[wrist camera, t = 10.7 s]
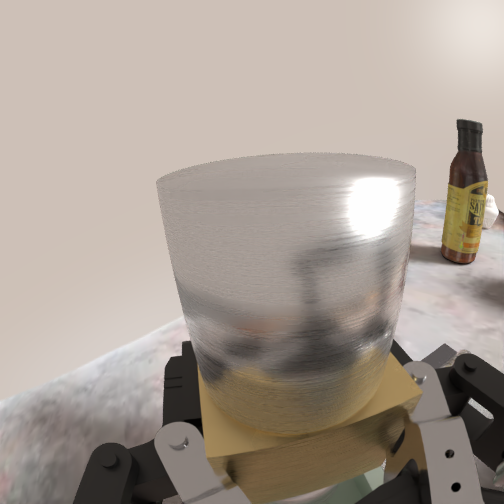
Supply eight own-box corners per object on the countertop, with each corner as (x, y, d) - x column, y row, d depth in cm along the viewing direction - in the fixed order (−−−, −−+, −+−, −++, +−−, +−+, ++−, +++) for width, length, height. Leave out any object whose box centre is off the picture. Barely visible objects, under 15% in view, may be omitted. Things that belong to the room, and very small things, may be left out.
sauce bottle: (465, 270, 31) (479, 120, 23) (432, 254, 36) (440, 116, 28) (481, 258, 33) (494, 125, 25) (451, 244, 39) (459, 121, 31)
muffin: (501, 231, 42) (505, 197, 39) (482, 231, 42) (487, 196, 39) (484, 221, 47) (488, 190, 44) (466, 221, 48) (469, 189, 45)
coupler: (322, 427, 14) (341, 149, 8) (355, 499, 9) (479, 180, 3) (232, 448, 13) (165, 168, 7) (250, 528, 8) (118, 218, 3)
